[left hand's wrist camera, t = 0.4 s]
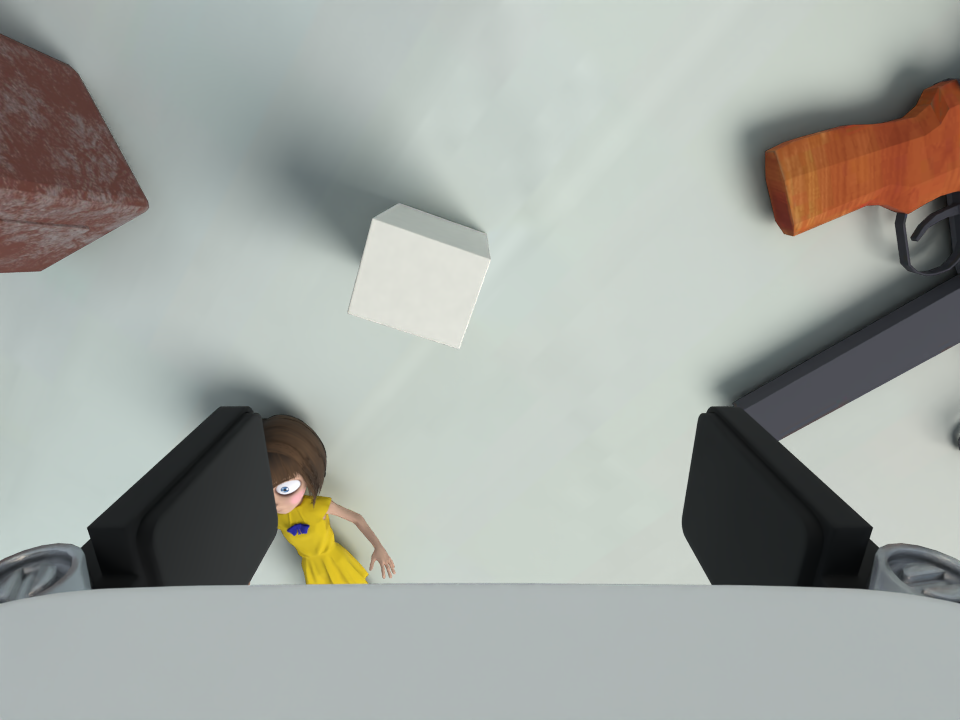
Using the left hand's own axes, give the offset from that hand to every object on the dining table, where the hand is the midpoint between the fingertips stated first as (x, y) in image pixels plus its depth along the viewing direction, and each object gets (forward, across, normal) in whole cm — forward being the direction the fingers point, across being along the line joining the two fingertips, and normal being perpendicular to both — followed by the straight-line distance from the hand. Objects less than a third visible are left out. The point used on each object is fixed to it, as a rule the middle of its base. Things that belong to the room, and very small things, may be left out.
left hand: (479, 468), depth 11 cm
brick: (+28, +3, 0) cm, 28 cm away
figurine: (+28, +13, +24) cm, 39 cm away
